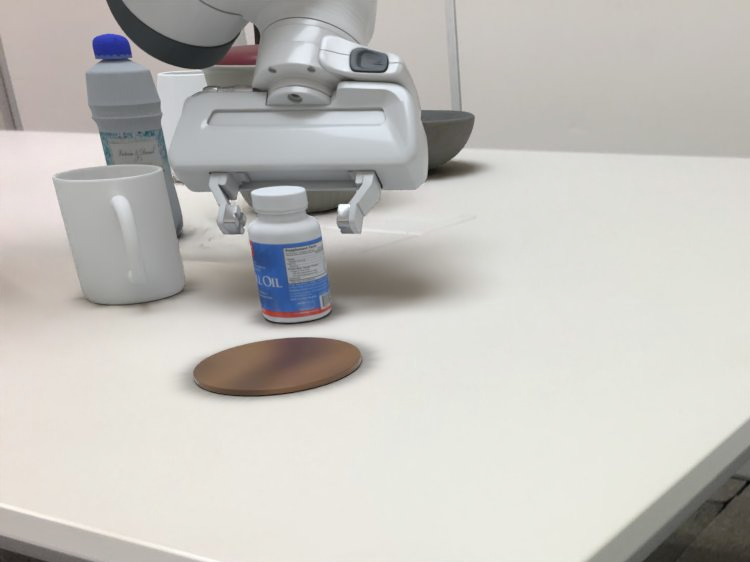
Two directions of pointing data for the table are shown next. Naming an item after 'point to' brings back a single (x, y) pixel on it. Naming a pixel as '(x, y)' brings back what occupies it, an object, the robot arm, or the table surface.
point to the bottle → (128, 112)
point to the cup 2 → (176, 98)
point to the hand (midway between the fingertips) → (289, 230)
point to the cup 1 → (121, 232)
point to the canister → (241, 72)
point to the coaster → (277, 366)
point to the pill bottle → (288, 256)
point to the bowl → (445, 134)
